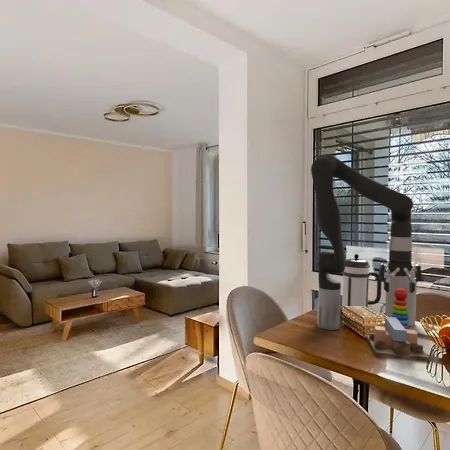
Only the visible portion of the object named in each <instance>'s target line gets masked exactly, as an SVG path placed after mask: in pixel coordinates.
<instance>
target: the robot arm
mask: <svg viewBox="0 0 450 450" xmlns="http://www.w3.org/2000/svg"><path fill="white" fill-rule="evenodd" d="M310 174H311V178H312V182H313V187H314V193H315V204H316V205H315V206H316V214H317V225H318V227H319V230H320V231H321V233H322V234H323V235H324V236H325V238H326V239H327V240H328V241H329V243H330V244H331V247H332V248H333V251H329V250H322V251H321V252H320V253H319V255H318V260H317V261H318V263H317V264H318V268H317V269H318V299H317V300H318V301H317V321H316V323H317V328H318V329H319V328H320V329H323V330H331V331H333V330H334V331H335V330H339V329H340V325H341V319H340V318H341V310H340V309H341V294H342V293H341V292H342V290H341V289H342V286H341V285H342V284H341V282H340V281H339V280H337V279H335V278H333V277H332V276H331V275H330V273H331V274H343V272H344V270H345V260H346V255H345V250H344V242H343V236H342V235H343V233H342V217H341V215H342V214H341V209H340V205H339V203H338V201H337V199H336V196H335V192H334V178H335V179H338V180H340V181H342V182H344V183H346V184H347V185H348V186H350V187H351V189H353V190H355V192H356V193H358V194H359V195H361V196H362V197H364V198H366V199H368V200H370V201H372V202H374V203H376V204H380V205H382V206H384V207H385V208H387V209H389V210H390V211H391V213H390V215H391V224H390V235H389V236H390V237H389V245H388V249H389V250H388V251H389V253H388V254H389V255H388V264H386V263H385V264H383V263H380V264H379V270H378V275H379V279H380V280H381V281H383V290H384V291H385V293H386V292H389V280H390V279H391V278H393V277H394V276H403V277H405V276H407V277H408V279H409V280H410V282H409V292H410V293H413V292H414V291H415V283H416V282H417V283H418V282H419V283H420V282H422V267H421V265H419V264H413V265H412V255H413V253H412V252H413V241H412V240H413V239H412V231H413V228H412V227H413V226H412V221H411V219H412V209H413V208H414V201H413V199H412V198H411V197H410V196H408V195H406V194H404V193H402V192H399V191H396V190H394V189H392V188H390V187H388V186H386V185H384V184H382V183H380V182H379V181H377V180H375V179H372V178H370V177H368V176H366V175H364V174H362V173H361V172H359V171H357V170H355V169H354V168H353V167H351V166H349V165H348V164H346V163H345V162H343V161H342V160H340V159H339V158H337V157H336V156H334V155H332V154H329V153H325V154H322V155H321V156H319V157H318V158H316V159H314V161H313V162H312V164H311V167H310ZM387 268H388V269H389V270H390V271H389V272H388V273H387V272H386V271H387ZM412 269H413V270H414V271H415V278H413V276H412V275H411V273H410V271H411V270H412ZM385 273H386V275H385Z"/></svg>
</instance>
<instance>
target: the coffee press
mask: <svg viewBox="0 0 450 450" xmlns="http://www.w3.org/2000/svg"><path fill="white" fill-rule="evenodd" d="M353 257H354V258H348V259H345V270H344V272H343V273H342V296H341V299H342V300H341V302H342V303H341V305H342V306H340V311H341V309H342V310H343V308H342V307H343V306H366V307H368V308H369V306H370V305H377V304H378V303H379V302H380V300H381V297H382V280H380V279H379V273H376V272H373V271H372V272H371V271H370V268H371V265H370V263H369V262H368V261H367V260H366V259H361V258H359V257H360V255H359V254H357V253H355V254H354V255H353ZM370 277H375V279H376V284H377V285H376V298H375V299H374V300H369V286H370V285H369V282H370V281H369V280H370Z"/></svg>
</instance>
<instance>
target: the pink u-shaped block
mask: <svg viewBox="0 0 450 450" xmlns="http://www.w3.org/2000/svg"><path fill="white" fill-rule="evenodd" d="M406 330H407V336H406V341H408V342H409V343H410V348H411V344H418V332H417V331H416V330H415V329H409V330H408V329H406ZM373 333H374V341H383V342H385V343H386V345H387V346H392V337H391V336H390V334H389V332H388V331H386V330H385V327H382V325H381V326H380V325H374V332H373Z"/></svg>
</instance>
